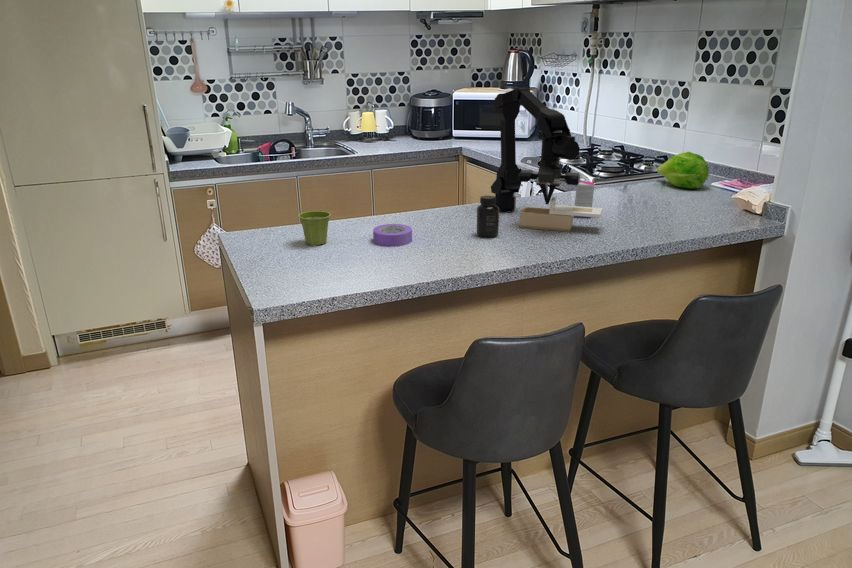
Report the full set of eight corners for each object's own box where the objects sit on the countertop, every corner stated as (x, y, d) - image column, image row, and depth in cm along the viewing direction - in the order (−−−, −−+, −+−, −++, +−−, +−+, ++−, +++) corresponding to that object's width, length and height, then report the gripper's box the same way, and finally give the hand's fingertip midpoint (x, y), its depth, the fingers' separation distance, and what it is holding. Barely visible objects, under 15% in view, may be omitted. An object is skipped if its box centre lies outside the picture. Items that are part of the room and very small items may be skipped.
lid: (549, 213, 209) (550, 201, 208) (552, 207, 217) (553, 195, 215) (600, 217, 205) (601, 205, 203) (602, 211, 212) (603, 198, 211)
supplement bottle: (500, 233, 208) (502, 195, 204) (495, 239, 202) (496, 200, 198) (479, 231, 210) (480, 193, 206) (473, 237, 204) (474, 198, 200)
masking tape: (399, 249, 194) (398, 236, 192) (365, 243, 199) (365, 231, 198) (419, 239, 203) (419, 226, 202) (386, 233, 209) (386, 221, 207)
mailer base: (519, 227, 214) (519, 212, 212) (523, 221, 221) (524, 206, 219) (569, 231, 209) (571, 216, 208) (572, 225, 216) (573, 210, 215)
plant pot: (303, 238, 204) (301, 210, 200) (334, 238, 203) (333, 210, 200) (297, 247, 195) (295, 218, 192) (329, 247, 195) (327, 218, 191)
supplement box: (591, 218, 224) (594, 184, 220) (573, 217, 225) (576, 184, 221) (591, 214, 230) (593, 181, 226) (573, 213, 231) (576, 180, 227)
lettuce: (644, 189, 275) (669, 190, 283) (690, 187, 256) (716, 188, 263) (645, 153, 274) (670, 155, 281) (692, 148, 254) (718, 150, 262)
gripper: (515, 157, 202) (513, 207, 208) (578, 161, 197) (574, 212, 203) (522, 151, 212) (519, 199, 218) (582, 154, 207) (578, 204, 213)
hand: (547, 204), depth 213 cm, fingers closed
